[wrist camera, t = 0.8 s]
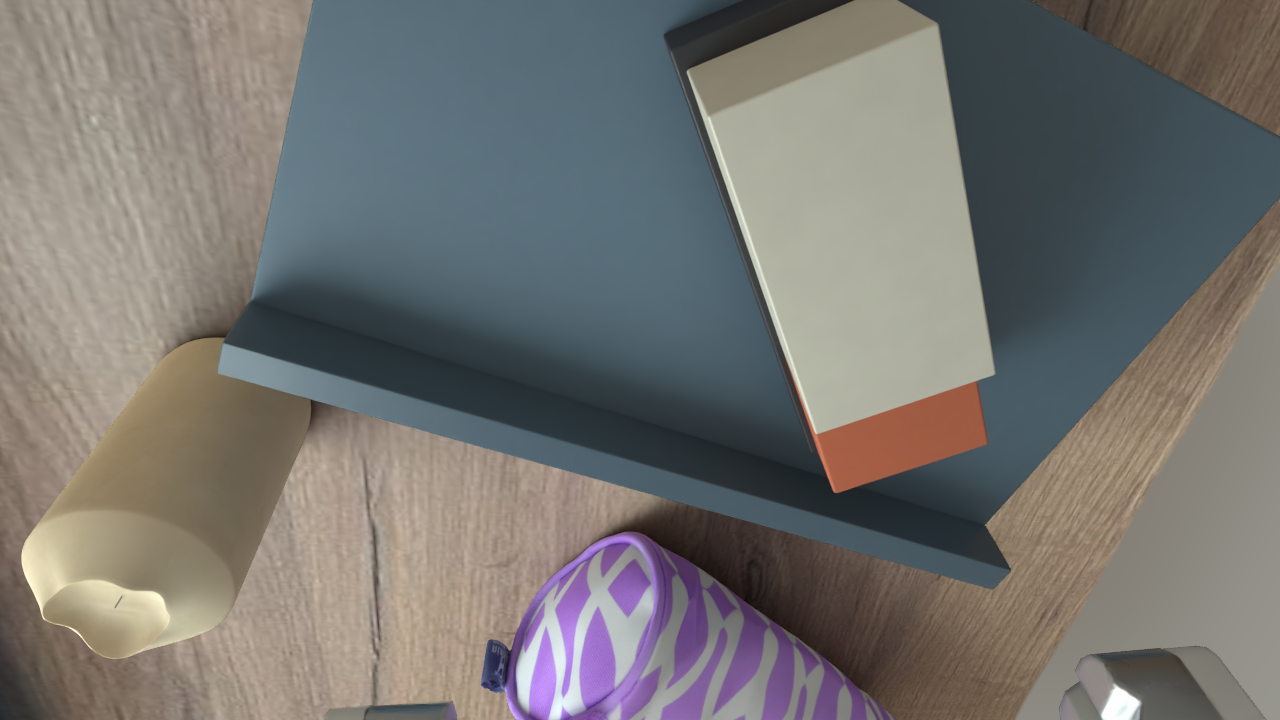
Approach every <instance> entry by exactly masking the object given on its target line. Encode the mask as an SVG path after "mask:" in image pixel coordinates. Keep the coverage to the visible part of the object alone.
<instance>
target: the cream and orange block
mask: <svg viewBox="0 0 1280 720" xmlns="http://www.w3.org/2000/svg"><path fill="white" fill-rule="evenodd" d="M663 38H664V41H665V44H666V47H667V50H668V52H669V55H670V58H671V61H672V64H673V66H674V69H675V72H676V75H677V78H678V81H679V83H680V86H681V89H682V92H683V95H684V98H685V100H686V103H687V106H688V109H689V112H690V115H691V117H692V120H693V123H694V126H695V129H696V132H697V134H698V137H699V140H700V143H701V146H702V149H703V151H704V154H705V157H706V160H707V163H708V165H709V168H710V171H711V174H712V177H713V180H714V182H715V185H716V188H717V191H718V194H719V197H720V199H721V202H722V205H723V208H724V211H725V214H726V216H727V219H728V222H729V225H730V228H731V231H732V233H733V236H734V239H735V242H736V245H737V248H738V250H739V253H740V256H741V259H742V262H743V265H744V267H745V270H746V273H747V276H748V279H749V281H750V284H751V287H752V290H753V293H754V296H755V298H756V301H757V304H758V307H759V310H760V313H761V315H762V318H763V321H764V324H765V327H766V330H767V332H768V335H769V338H770V341H771V344H772V347H773V349H774V352H775V355H776V358H777V361H778V364H779V366H780V369H781V372H782V375H783V378H784V380H785V383H786V386H787V389H788V392H789V395H790V397H791V400H792V403H793V406H794V409H795V412H796V414H797V417H798V420H799V423H800V425H801V428H802V431H803V433H804V436H805V439H806V441H807V444H808V447H809V449H810V451H811V452H815V451H818V453H819V456H820V458H821V461H822V463H823V466H824V469H825V471H826V474H827V476H828V479H829V482H830V484H831V487H832V489H833V491H834V492H835V493H839V492H842V491H845V490H848V489H851V488H854V487H857V486H860V485H863V484H867V483H870V482H873V481H876V480H879V479H882V478H885V477H888V476H891V475H894V474H897V473H901V472H904V471H907V470H910V469H913V468H916V467H919V466H922V465H925V464H928V463H932V462H935V461H938V460H941V459H944V458H947V457H950V456H953V455H956V454H959V453H962V452H966V451H969V450H972V449H975V448H978V447H981V446H984V445H987V444H988V436H987V431H986V425H985V420H984V414H983V409H982V403H981V398H980V392H979V387H978V380H981V379H984V378H987V377H990V376H993V375H995V373H996V371H995V365H994V359H993V353H992V347H991V341H990V335H989V328H988V322H987V316H986V310H985V304H984V298H983V292H982V286H981V280H980V273H979V267H978V261H977V255H976V249H975V243H974V237H973V231H972V225H971V218H970V212H969V206H968V200H967V194H966V188H965V182H964V176H963V170H962V164H961V157H960V151H959V145H958V139H957V133H956V127H955V121H954V115H953V109H952V102H951V96H950V90H949V84H948V78H947V72H946V66H945V60H944V54H943V48H942V41H941V35H940V29H939V25H938V23H937V22H935V21H933V20H931V19H930V18H928V17H926V16H924V15H923V14H921V13H919V12H917V11H916V10H914V9H912V8H910V7H908V6H907V5H905V4H903V3H901V2H900V1H898V0H743V1H741V2H738V3H736V4H733V5H731V6H729V7H726V8H724V9H722V10H719V11H717V12H715V13H712V14H710V15H707V16H705V17H703V18H700V19H698V20H696V21H693V22H691V23H689V24H686V25H684V26H681V27H679V28H677V29H674V30H672V31H670V32H667V33H665V34H664V35H663Z"/></svg>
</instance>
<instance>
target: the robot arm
mask: <svg viewBox="0 0 1280 720" xmlns="http://www.w3.org/2000/svg"><path fill="white" fill-rule="evenodd" d="M1075 672H1076V673H1077V675H1078V677H1079V679H1080V682H1078V683H1077V684H1075V685H1074V686H1072V687H1071V688H1070V689H1068V690H1067V691H1065V694H1064V696H1063V699H1062V701H1061V704H1060V707H1059V710H1060V720H1266V718H1265V717H1264V716H1263V715H1262V713H1261V712H1260V710H1259V709H1258V708H1257V706H1256V705H1255V704H1254V703H1253V701H1252V700H1251V699H1250V697H1249V696H1248V695H1247V693H1246V692H1245V691H1244V689H1243V688H1242V687H1241V685H1239V683H1238V681H1237V680H1236V679H1235V678H1234V676H1233V675H1232V674H1231V672H1230V671H1229V670H1228V668H1227V667H1226V666H1225V664H1224V663H1223V662H1222V660H1221V659H1220V658H1219V657H1218V656H1217V655H1216V654H1215V653H1214V652H1212V651H1211V650H1209V649H1208V648H1206V647H1200V646H1190V647H1178V648H1165V649H1161V648H1155V649H1145V650H1133V651H1122V652H1111V653H1100V654H1090V655H1088V656H1086V657H1084V658H1081V659H1080V662H1079V664H1078V665H1077V667H1076V669H1075ZM323 720H457V713H456V710H455V707H454V704H453V701H440V702H426V703H412V704H397V705H383V706H372V705H370V706H358V707H346V708H334V709H329V710H328V712H327V714H326V716H325V718H324V719H323Z"/></svg>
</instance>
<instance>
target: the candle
mask: <svg viewBox="0 0 1280 720" xmlns="http://www.w3.org/2000/svg"><path fill="white" fill-rule="evenodd" d="M224 339H225V338H203V339H198V340H194V341H191V342H188V343H185V344H183V345H181V346H179V347H177V348H176V349H174V350H173V351H171V352H170V353H169V354H168V355H166V356H165V357H164V358H163V359H162V360H161V361H160V362H159V363H158V365H157V366H156V367H155V368H154V370H153V371H152V372H151V373H150V375H149V376H148V377H147V379H146V380H145V381H144V383H143V384H142V385H141V387H140V388H139V389H138V391H137V392H136V393H135V395H134V396H133V397H132V399H131V400H130V401H129V403H128V404H127V405H126V407H125V408H124V409H123V411H122V412H121V413H120V415H119V416H118V417H117V419H116V420H115V421H114V423H113V424H112V425H111V427H110V428H109V429H108V431H107V432H106V433H105V435H104V436H103V437H102V439H101V440H100V441H99V443H98V444H97V445H96V447H95V448H94V449H93V451H92V452H91V453H90V455H89V456H88V457H87V459H86V460H85V461H84V463H83V464H82V465H81V467H80V468H79V469H78V471H77V472H76V473H75V475H74V476H73V477H72V479H71V480H70V481H69V483H68V484H67V485H66V487H65V488H64V489H63V491H62V492H61V493H60V495H59V496H58V497H57V499H56V500H55V501H54V503H53V504H52V505H51V507H50V508H49V509H48V511H47V512H46V513H45V515H44V516H43V517H42V519H41V520H40V521H39V523H38V524H37V525H36V527H35V528H34V530H33V531H32V532H31V534H30V535H29V537H28V538H27V540H26V542H25V544H24V547H23V550H22V557H21V558H22V567H23V570H24V574H25V576H26V579H27V581H28V583H29V585H30V587H31V589H32V591H33V593H34V595H35V597H36V599H37V601H38V604H39V606H40V610H41V614H42V617H43V618H44V619H45V620H46V621H48V622H51V623H54V624H58V625H62V626H66V627H69V628H70V629H72V630H73V631H75V632H76V633H77V634H79V635H80V636H81V638H82V639H83V640H84V642H85V643H86V644H87V645H88V646H89V647H90V648H91V649H92V650H94V651H95V652H96V653H98V654H100V655H102V656H104V657H107V658H111V659H121V658H126V657H129V656H131V655H134V654H136V653H139V652H142V651H145V650H148V649H151V648H155V647H158V646H163V645H167V644H171V643H174V642H178V641H181V640H184V639H188V638H191V637H194V636H196V635H199V634H201V633H204V632H206V631H208V630H210V629H212V628H213V627H215V626H216V625H218V624H219V623H220V622H221V621H223V620H224V618H225V617H226V616H227V615H228V614H229V612H230V611H231V609H232V607H233V605H234V603H235V601H236V598H237V596H238V593H239V591H240V589H241V586H242V584H243V582H244V579H245V577H246V575H247V572H248V570H249V568H250V565H251V563H252V561H253V558H254V556H255V554H256V551H257V549H258V546H259V544H260V542H261V539H262V537H263V535H264V532H265V530H266V528H267V525H268V523H269V521H270V518H271V516H272V514H273V511H274V509H275V506H276V504H277V502H278V499H279V497H280V495H281V492H282V490H283V488H284V485H285V483H286V481H287V478H288V476H289V473H290V471H291V469H292V466H293V464H294V462H295V459H296V457H297V455H298V452H299V450H300V448H301V445H302V443H303V440H304V437H305V435H306V432H307V430H308V427H309V423H310V417H311V401H310V399H308V398H304V397H301V396H297V395H293V394H290V393H286V392H283V391H279V390H276V389H272V388H268V387H265V386H261V385H258V384H254V383H250V382H247V381H243V380H240V379H236V378H233V377H229V376H225V375H222V374H218V373H217V368H218V363H219V358H220V353H221V347H222V342H223V341H224Z"/></svg>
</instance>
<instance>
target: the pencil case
mask: <svg viewBox="0 0 1280 720" xmlns="http://www.w3.org/2000/svg"><path fill="white" fill-rule="evenodd" d="M481 686H483V687H484V688H488V689H490V691H494V692H496V693H497V692H499V693H502V692H505V691H506V692H507V700H508V705H509V708H510V710H511V712H512V714H513V715H514V717H515V718H516V720H896V719H895V718H894V717H893V716H892V715H891V714H890V713H888V712H887V711H886V710H885V709H884V708H883V707H882V706H881V705H880V704H879V703H878V702H877V701H876V700H875V699H874V698H872V697H871V696H870V695H868V694H867V693H865V692H864V691H862V690H860V689H859V688H857V687H856V686H855V685H854V684H853V683H852V682H851V681H850V679H848V678H847V677H846V676H845V675H844V674H843V673H842V672H841V671H840V670H838V669H837V668H836V667H835V666H833V665H832V664H831V663H830V662H829V661H827V660H826V659H825V658H824V657H822V656H821V655H820V654H819V653H817V652H816V651H815V650H814V649H812V648H811V647H809V646H808V645H806V644H805V643H803V642H802V641H801V640H800V639H799V638H797V637H796V636H794V635H793V634H791V633H789V632H788V631H786V630H785V629H783V628H782V627H780V626H779V625H778V624H776V623H775V622H773V621H772V620H771V619H769V618H768V617H766V616H765V615H764V614H762V613H761V612H759V611H758V610H756V609H755V608H753V607H752V606H750V605H749V604H747V603H746V602H745V601H743V600H742V599H741V598H739V597H738V596H737V595H736V594H734V593H733V592H732V591H731V590H729V589H728V588H727V587H725V586H724V585H722V584H721V583H719V582H718V581H717V580H716V579H715V578H713V577H712V576H711V575H709V574H708V573H706V572H705V571H703V570H702V569H700V568H699V567H697V566H696V565H694V564H693V563H691V562H689V561H688V560H686V559H684V558H682V557H681V556H679V555H677V554H675V553H673V552H671V551H669V550H667V549H665V548H662V547H660V546H659V545H658V544H657V543H656V542H654V541H653V540H651V539H650V538H648V537H647V536H645V535H643V534H641V533H637V532H624V533H620V534H616V535H613V536H608V537H605V538H603V539H601V540H599V541H597V542H595V543H593V544H592V545H591V546H589V547H588V548H587V549H586V550H585V551H584V552H583V553H582V554H580V555H579V556H578V557H577V558H576V559H574V560H573V561H571V562H570V563H569V564H567V565H566V566H564V567H563V568H562V569H560V570H559V571H558V572H557V573H555V574H554V575H553V576H552V577H551V578H550V579H549V580H548V581H547V582H546V583H545V584H544V585H543V587H542V588H541V589H540V590H539V592H538V593H537V594H536V596H535V597H534V599H533V600H532V602H531V603H530V605H529V607H528V609H527V611H526V613H525V615H524V617H523V619H522V621H521V623H520V626H519V628H518V630H517V633H516V635H515V639H514V642H513V646H512V649H511V650H510V651H509V650H508V648H507V647H506V646H505V645H504V644H503V643H501V642H499V641H497V640H492V639H491V640H489V641H488V643H487V649H486V655H485V661H484V668H483V674H482V681H481Z"/></svg>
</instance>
